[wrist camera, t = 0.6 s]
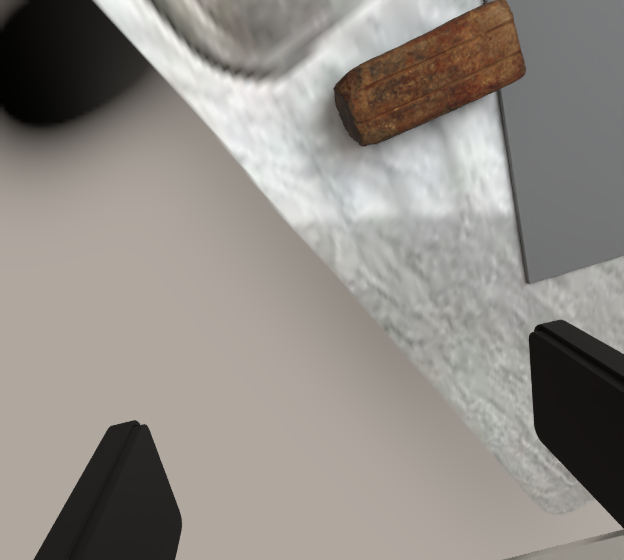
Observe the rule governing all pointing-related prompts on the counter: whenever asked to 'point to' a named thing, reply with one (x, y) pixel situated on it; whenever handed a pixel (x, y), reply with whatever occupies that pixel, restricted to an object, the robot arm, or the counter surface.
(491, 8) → the brick
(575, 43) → the mat
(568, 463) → the robot arm
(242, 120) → the counter surface
